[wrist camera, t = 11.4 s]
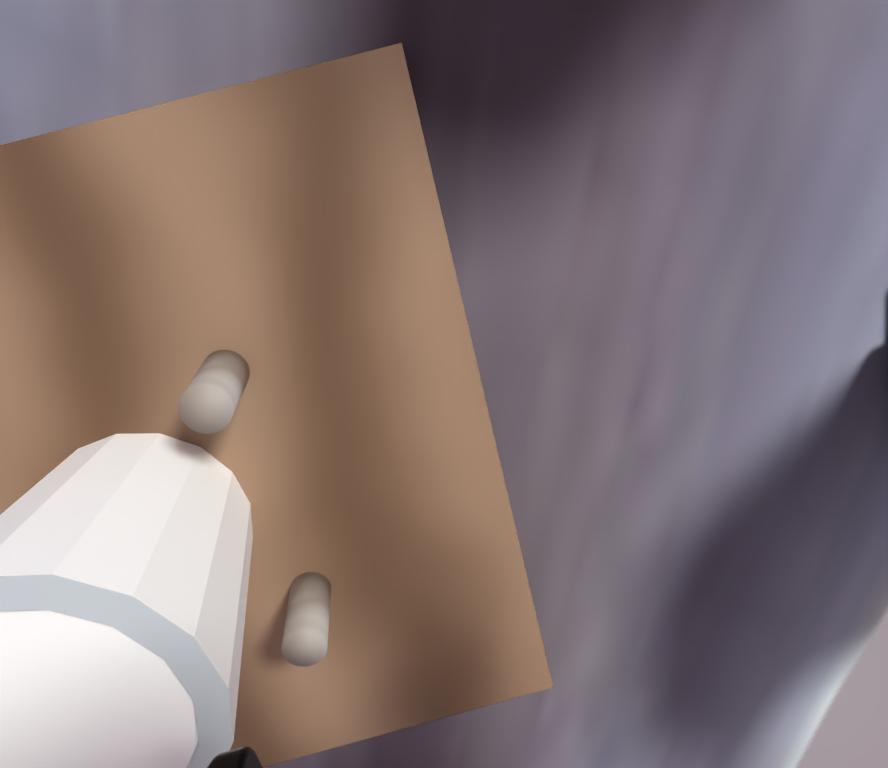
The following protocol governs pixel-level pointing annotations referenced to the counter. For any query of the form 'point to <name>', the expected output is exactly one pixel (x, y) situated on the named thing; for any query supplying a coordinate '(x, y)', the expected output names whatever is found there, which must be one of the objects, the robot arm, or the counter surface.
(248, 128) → the pin plate
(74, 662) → the shot glass
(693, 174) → the counter surface
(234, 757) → the robot arm
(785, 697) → the counter surface
